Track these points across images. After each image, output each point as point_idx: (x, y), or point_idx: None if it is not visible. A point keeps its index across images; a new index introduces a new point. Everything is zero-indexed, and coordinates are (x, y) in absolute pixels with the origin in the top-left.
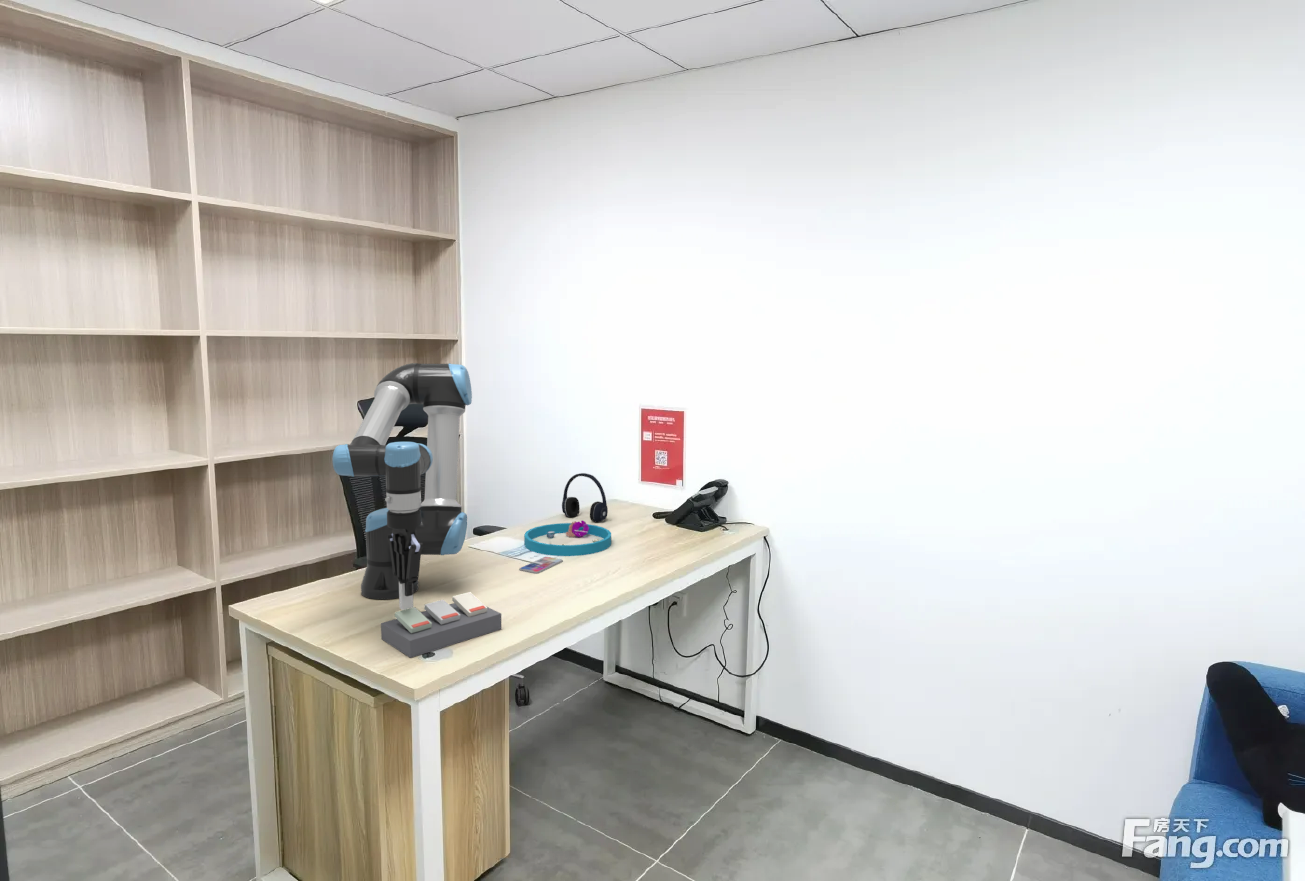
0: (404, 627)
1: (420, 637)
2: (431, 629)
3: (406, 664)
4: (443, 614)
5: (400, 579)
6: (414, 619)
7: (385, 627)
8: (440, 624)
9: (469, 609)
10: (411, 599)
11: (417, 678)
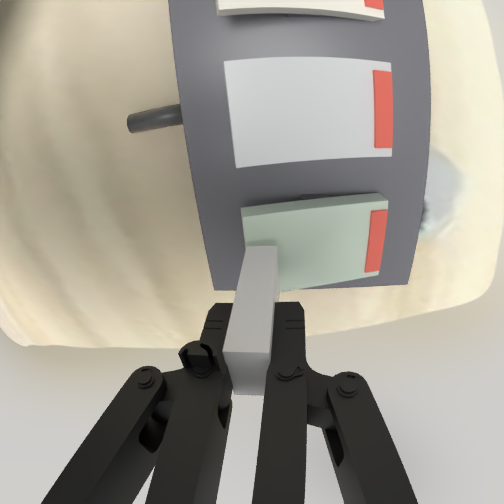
0: None
1: (413, 254)
2: (387, 197)
3: (412, 274)
4: (359, 126)
5: (230, 397)
6: (334, 249)
7: None
8: None
9: (367, 4)
10: (276, 278)
11: (472, 282)
